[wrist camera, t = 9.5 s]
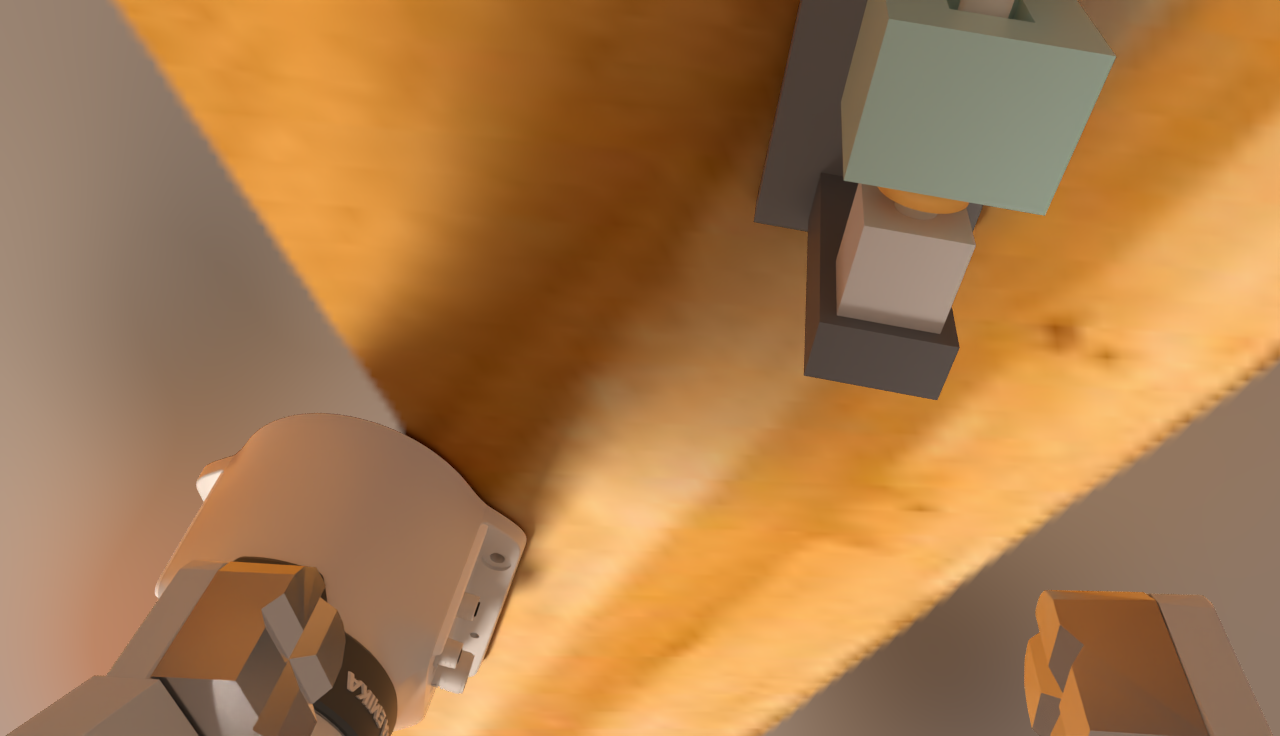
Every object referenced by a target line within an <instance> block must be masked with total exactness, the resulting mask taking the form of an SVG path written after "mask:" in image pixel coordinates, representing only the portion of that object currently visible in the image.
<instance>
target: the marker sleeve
mask: <svg viewBox="0 0 1280 736" xmlns="http://www.w3.org/2000/svg"><path fill="white" fill-rule="evenodd" d="M959 3H960V0H868V1H867V5H866V8H865V12H864V16H863V20H862V24H861V27H860V31H859V35H858V39H857V43H856V46H855V50H854V54H853V58H852V62H851V66H850V69H849V73H848V77H847V81H846V85H845V88H844V92H843V96H842V100H841V120H842V149H843V178H844V181H849V182H855V183H861V184H867V185H872V186H878V187H884V188H889V189H895V190H901V191H907V192H912V193H918V194H924V195H930V196H935V197H941V198H947V199H952V200H958V201H964V202H970V203H975V204H981V205H987V206H992V207H998V208H1004V209H1010V210H1015V211H1021V212H1027V213H1032V214H1038V215H1044V216H1045V214H1046V212H1047V210H1048V208H1049V205H1050V203H1051V201H1052V199H1053V197H1054V194H1055V192H1056V190H1057V188H1058V185H1059V183H1060V181H1061V179H1062V176H1063V174H1064V172H1065V170H1066V168H1067V165H1068V163H1069V161H1070V159H1071V156H1072V154H1073V152H1074V150H1075V147H1076V145H1077V143H1078V141H1079V139H1080V136H1081V134H1082V132H1083V130H1084V127H1085V125H1086V123H1087V121H1088V118H1089V116H1090V114H1091V112H1092V110H1093V107H1094V105H1095V103H1096V101H1097V98H1098V96H1099V94H1100V92H1101V89H1102V87H1103V85H1104V83H1105V81H1106V78H1107V76H1108V74H1109V72H1110V69H1111V67H1112V65H1113V63H1114V60H1115V58H1116V55H1115V54H1114V52H1113V51H1112V49H1111V48H1110V47H1109V45H1108V44H1107V42H1106V41H1105V39H1104V38H1103V37H1102V35H1101V34H1100V32H1099V31H1098V29H1097V28H1096V27H1095V25H1094V24H1093V22H1092V21H1091V19H1090V18H1089V17H1088V15H1087V14H1086V12H1085V11H1084V9H1083V8H1082V7H1081V5H1080V4H1079V2H1078V1H1077V0H1014V3H1013V6H1012V9H1011V11H1010V14H1009V17H1008V18H1002V17H996V16H990V15H984V14H978V13H972V12H966V11H960V10H958V7H959Z"/></svg>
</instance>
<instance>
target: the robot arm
mask: <svg viewBox="0 0 1280 736" xmlns="http://www.w3.org/2000/svg"><path fill="white" fill-rule="evenodd" d="M196 487H197V490H198V492H199V494H200V496H201V498H202V500H203V501H204V502H203V504H202V506H201V507H200V509H199V511H198V512H197V514H196V516H195V517H194V519H193V521H192V522H191V524H190V526H189V528H188V529H187V531H186V533H185V534H184V536H183V538H182V539H181V541H180V543H179V545H178V546H177V548H176V550H175V552H174V554H173V555H172V557H171V558H170V560H169V562H168V563H167V565H166V567H165V569H164V570H163V572H162V574H161V576H160V578H159V579H158V582H157V584H156V588H155V595H156V596H157V597H158V601H157V602H156V604H155V605H154V607H153V608H152V610H151V611H150V612H149V614H148V615H147V617H146V618H145V620H144V621H143V623H142V624H141V626H140V627H139V628H138V630H137V631H136V633H135V634H134V636H133V637H132V639H131V640H130V641H129V643H128V644H127V646H126V647H125V649H124V650H123V652H122V653H121V655H120V656H119V658H118V659H117V661H116V662H115V663H114V665H113V666H112V668H111V669H110V671H109V672H108V673H107V675H106V676H101V675H100V676H99V675H94V676H93V677H91V678H90V679H88V680H87V681H85V682H84V683H82V684H81V685H80V686H78V687H77V688H75V689H74V690H72V691H71V692H69V693H68V694H66V695H65V696H63V697H62V698H60V699H59V700H57V701H56V702H54V703H53V704H51V705H50V706H49V707H47V708H46V709H44V710H43V711H41V712H40V713H38V714H37V715H35V716H34V717H32V718H31V719H29V720H28V721H27V722H25V723H24V724H22V725H21V726H19V727H18V728H16V729H15V730H13V731H12V732H10V733H9V734H7V735H6V736H391V734H392V732H393V731H397V730H400V729H404V728H408V727H411V726H413V725H415V724H417V723H419V722H421V721H422V720H423V719H424V717H425V715H426V712H427V710H428V707H429V705H430V702H431V700H432V697H433V694H434V692H435V689H436V688H437V687H438V686H440V689H445V690H446V691H450V692H453V693H456V694H459V693H461V694H462V693H463V690H464V688H465V685H466V682H467V679H468V677H471V676H474V675H475V674H476V673H477V672H478V670H479V668H480V666H481V663H482V661H483V659H484V657H485V654H486V651H487V649H488V646H489V643H490V641H491V638H492V635H493V632H494V630H495V627H496V624H497V621H498V619H499V616H500V613H501V611H502V608H503V605H504V602H505V600H506V597H507V594H508V591H509V589H510V586H511V583H512V581H513V578H514V575H515V572H516V570H517V567H518V564H519V562H520V559H521V556H522V553H523V551H524V548H525V545H526V541H527V540H526V535H525V533H524V532H523V531H522V529H521V528H520V527H518V526H517V525H516V524H515V523H513V522H512V521H511V520H509V519H508V518H506V517H505V516H503V515H502V514H500V513H499V512H497V511H495V510H494V509H492V508H491V507H489V506H487V505H486V504H485V503H484V502H483V501H482V500H481V499H480V498H479V497H478V496H477V495H476V493H475V492H474V491H473V490H472V488H471V487H470V486H469V485H468V483H467V482H466V481H465V480H464V479H463V478H462V476H461V475H460V474H459V473H458V472H457V471H456V470H455V469H454V468H453V467H452V466H451V465H449V464H448V463H447V462H446V461H445V460H444V459H442V458H441V457H440V456H438V455H437V454H436V453H434V452H433V451H432V450H430V449H429V448H427V447H426V446H424V445H422V444H421V443H419V442H417V441H416V440H414V439H412V438H410V437H408V436H406V435H404V434H402V433H400V432H398V431H396V430H393V429H391V428H388V427H386V426H383V425H380V424H377V423H374V422H371V421H368V420H364V419H360V418H356V417H351V416H345V415H338V414H327V413H309V414H300V415H293V416H288V417H285V418H281V419H278V420H276V421H273V422H271V423H269V424H267V425H265V426H264V427H262V428H261V429H259V430H258V431H257V432H256V433H254V434H253V435H252V437H251V438H250V439H249V440H248V441H247V443H246V444H245V445H244V446H243V448H242V449H241V450H240V451H239V452H238V453H236V454H235V455H234V456H230V457H226V458H223V459H220V460H217V461H215V462H212V463H210V464H208V465H207V466H206V467H205V468H204V469H203V471H202V472H201V474H200V476H199V478H198V480H197V482H196ZM1035 614H1036V618H1037V622H1038V626H1039V631H1040V632H1039V633H1038V634H1036V635H1035V636H1034V637H1032V638H1030V639H1029V640H1028V646H1027V651H1026V656H1025V679H1024V680H1025V681H1024V682H1025V683H1024V685H1025V693H1026V701H1027V707H1028V712H1029V716H1030V721H1031V726H1032V729H1033V730H1034V731H1035V732H1036V733H1037V734H1038V735H1039V736H1273V734H1272V732H1271V730H1270V728H1269V725H1268V723H1267V721H1266V719H1265V717H1264V715H1263V712H1262V710H1261V708H1260V706H1259V704H1258V702H1257V699H1256V697H1255V695H1254V693H1253V691H1252V688H1251V687H1250V684H1249V683H1248V680H1247V678H1246V676H1245V673H1244V671H1243V669H1242V667H1241V665H1240V662H1239V660H1238V658H1237V656H1236V654H1235V652H1234V649H1233V647H1232V645H1231V643H1230V641H1229V638H1228V636H1227V634H1226V632H1225V630H1224V628H1223V626H1222V623H1221V621H1220V619H1219V617H1218V615H1217V613H1216V610H1215V608H1214V606H1213V604H1212V603H1211V602H1210V601H1209V600H1208V599H1207V598H1206V597H1205V596H1203V595H1179V594H1178V595H1177V594H1145V593H1144V592H1108V591H1106V592H1105V591H1104V592H1103V591H1062V590H1059V591H1058V590H1044V592H1043V593H1042V594H1041V596H1040V597H1039V600H1038V603H1037V607H1036V611H1035Z"/></svg>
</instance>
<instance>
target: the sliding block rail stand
mask: <svg viewBox="0 0 1280 736" xmlns="http://www.w3.org/2000/svg"><path fill="white" fill-rule="evenodd" d="M867 1H868V0H800V3H799V8H798V13H797V17H796V22H795V26H794V31H793V36H792V40H791V45H790V49H789V54H788V59H787V63H786V68H785V73H784V77H783V82H782V86H781V91H780V96H779V100H778V105H777V109H776V114H775V119H774V123H773V128H772V132H771V137H770V142H769V146H768V151H767V156H766V160H765V165H764V169H763V174H762V179H761V183H760V188H759V192H758V197H757V202H756V208H755V217H754V222H756V223H762V224H767V225H773V226H779V227H784V228H790V229H796V230H801V231H807V232H808V250H807V284H806V319H805V354H804V375H805V376H810V377H815V378H821V379H826V380H831V381H837V382H842V383H847V384H853V385H858V386H864V387H869V388H874V389H880V390H885V391H890V392H896V393H901V394H906V395H912V396H917V397H923V398H928V399H933V400H938V397H939V395H940V392H941V390H942V388H943V385H944V383H945V381H946V378H947V376H948V374H949V371H950V369H951V367H952V364H953V362H954V360H955V357H956V355H957V352H958V350H959V342H958V337H957V332H956V327H955V321H954V316H953V311H952V304H953V301H954V299H955V296H956V294H957V291H958V289H959V286H960V284H961V281H962V279H963V276H964V274H965V271H966V269H967V266H968V264H969V261H970V259H971V256H972V254H973V251H974V249H975V247H976V244H975V240H974V236H973V230H974V227H975V225H976V222H977V220H978V217H979V215H980V212H981V210H982V207H983V205H981V204H975V203H970V202H964V201H958V200H952V199H947V198H941V197H935V196H930V195H924V194H918V193H912V192H907V191H901V190H895V189H889V188H884V187H878V186H872V185H867V184H861V183H855V182H849V181H844V178H843V149H842V120H841V100H842V96H843V92H844V88H845V85H846V81H847V77H848V73H849V69H850V66H851V62H852V58H853V54H854V50H855V46H856V43H857V39H858V35H859V31H860V27H861V24H862V20H863V16H864V12H865V8H866V5H867ZM1013 3H1014V0H960V3H959V7H958V10H960V11H966V12H972V13H978V14H984V15H990V16H996V17H1002V18H1008V17H1009V14H1010V11H1011V9H1012V6H1013Z"/></svg>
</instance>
